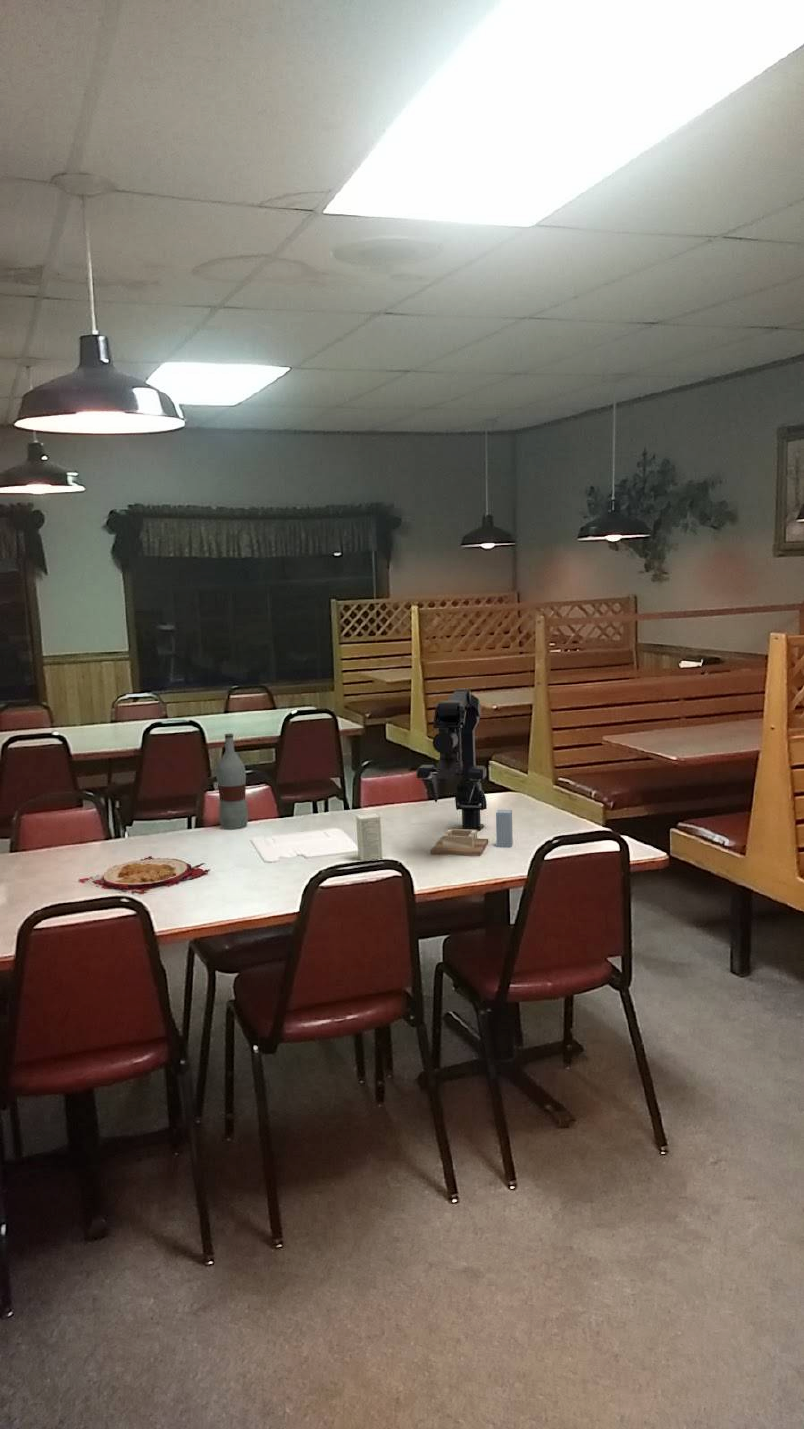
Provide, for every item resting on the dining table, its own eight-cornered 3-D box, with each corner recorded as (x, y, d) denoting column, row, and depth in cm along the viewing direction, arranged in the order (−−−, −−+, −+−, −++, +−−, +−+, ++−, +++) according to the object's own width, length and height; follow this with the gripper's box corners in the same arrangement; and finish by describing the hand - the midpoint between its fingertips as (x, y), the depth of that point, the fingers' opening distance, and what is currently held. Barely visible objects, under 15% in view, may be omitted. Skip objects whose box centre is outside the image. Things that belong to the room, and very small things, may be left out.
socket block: (441, 841, 283) (441, 826, 282) (488, 842, 279) (488, 827, 278) (430, 854, 269) (430, 838, 269) (480, 856, 266) (479, 840, 265)
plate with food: (151, 862, 274) (149, 850, 273) (211, 874, 258) (209, 861, 258) (77, 885, 255) (76, 873, 255) (137, 900, 240) (136, 886, 239)
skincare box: (379, 855, 270) (377, 812, 269) (382, 859, 266) (381, 816, 264) (357, 857, 269) (355, 814, 267) (360, 861, 265) (358, 818, 263)
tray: (363, 854, 274) (363, 848, 274) (265, 865, 266) (265, 860, 265) (339, 831, 300) (339, 826, 300) (249, 841, 292) (249, 836, 292)
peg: (498, 843, 278) (498, 809, 277) (512, 843, 277) (512, 809, 276) (496, 846, 274) (495, 812, 273) (510, 847, 273) (510, 813, 272)
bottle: (252, 822, 313) (247, 731, 309) (244, 830, 304) (238, 736, 300) (224, 822, 314) (219, 732, 310) (215, 830, 305) (209, 736, 301)
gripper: (410, 751, 260) (412, 808, 262) (478, 752, 255) (479, 810, 257) (420, 744, 271) (422, 799, 273) (486, 745, 266) (487, 800, 268)
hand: (452, 802), depth 267 cm, fingers open, 9 cm apart
